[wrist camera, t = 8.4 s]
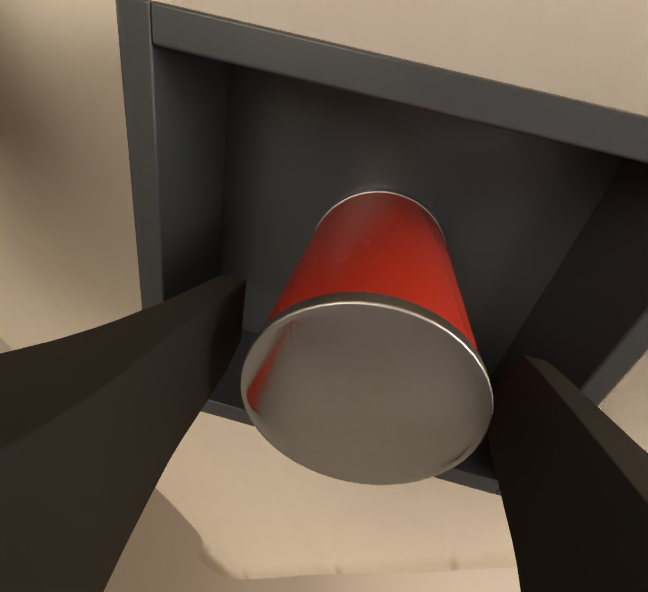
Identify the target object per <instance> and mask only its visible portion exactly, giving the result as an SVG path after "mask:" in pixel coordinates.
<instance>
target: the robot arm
mask: <svg viewBox="0 0 648 592" xmlns="http://www.w3.org/2000/svg"><path fill="white" fill-rule="evenodd" d="M246 281H247V280H243V279H240V278H236V277H232V276H228V275H225V274H224V275H221V276H219V277H217V278H214V279H212V280H210V281H208V282H205V283H203V284H201V285H199V286H197V287H195V288H192V289H190V290H188V291H186V292H184V293H181V294H179V295H177V296H175V297H172V298H170V299H168V300H166V301H164V302H161V303H159V304H157V305H154V306H152V307H149V308H146V309H144V310H141V311H139V312H136V313H134V314H131V315H129V316H126V317H124V318H121V319H119V320H116V321H113V322H111V323H108V324H105V325H102V326H99V327H96V328H93V329H90V330H87V331H83V332H80V333H77V334H74V335H70V336H67V337H64V338H60V339H57V340H53V341H50V342H46V343H42V344H38V345H34V346H30V347H26V348H22V349H18V350H13V351H9V352H5V353H1V354H0V592H103V591H104V589H105V587H106V585H107V583H108V581H109V579H110V576H111V574H112V572H113V570H114V568H115V566H116V564H117V562H118V560H119V558H120V556H121V554H122V551H123V549H124V548H125V545H126V543H127V541H128V539H129V537H130V535H131V533H132V531H133V529H134V528H135V526H136V523H137V521H138V520H139V518H140V515H141V514H142V512H143V509H144V508H145V506H146V504H147V502H148V500H149V498H150V496H151V494H152V492H153V490H154V488H155V486H156V485H157V483H158V481H159V479H160V477H161V475H162V473H163V471H164V469H165V467H166V465H167V464H168V462H169V460H170V458H171V456H172V455H173V453H174V451H175V450H176V448H177V446H178V445H179V443H180V442H181V440H182V438H183V437H184V435H185V434H186V432H187V431H188V429H189V428H190V426H191V425H192V423H193V422H194V420H195V419H196V417H197V416H198V414H199V413H200V411H201V409H202V408H203V406H204V405H205V403H206V402H207V400H208V399H209V397H210V396H211V394H212V393H213V391H214V390H215V388H216V386H217V385H218V383H219V382H220V380H221V379H222V377H223V375H224V374H225V372H226V370H227V368H228V366H229V364H230V362H231V360H232V358H233V356H234V354H235V352H236V350H237V348H238V345H239V343H240V341H241V333H242V322H243V312H244V302H245V291H246ZM493 406H494V407H493V414H492V420H491V423H490V425H489V428H488V436H489V444H490V450H491V454H492V459H493V463H494V467H495V472H496V476H497V480H498V484H499V488H500V492H501V497H502V501H503V505H504V509H505V513H506V517H507V521H508V525H509V529H510V533H511V538H512V542H513V547H514V552H515V557H516V562H517V568H518V575H519V582H520V589H521V592H648V453H647V452H646V451H645V450H643V449H642V448H641V447H640V446H639V445H638V444H637V443H636V442H635V441H634V440H632V439H631V438H630V437H629V436H628V435H627V434H626V433H625V432H624V431H623V430H622V429H621V428H619V427H618V426H617V425H616V424H615V423H614V422H613V421H612V420H611V419H610V418H609V417H608V416H607V415H606V414H605V413H604V412H602V411H601V410H600V409H599V408H598V407H597V406H596V405H595V404H594V403H593V402H592V401H591V400H590V399H589V398H588V397H587V396H586V395H585V394H583V393H582V392H581V391H580V390H579V389H578V388H577V387H576V386H575V385H574V384H573V383H572V382H571V381H570V380H568V379H567V378H566V377H565V376H564V375H563V374H562V373H561V372H560V371H558V370H557V369H556V368H555V367H554V366H552V365H551V364H550V363H548V362H547V361H545V360H541V359H538V358H534V357H530V356H527V355H523V354H522V355H521V356H520V358H519V359H518V361H517V362H516V364H515V366H514V367H513V369H512V370H511V372H510V373H509V375H508V376H507V378H506V379H505V381H504V382H503V384H502V385H501V387H500V388H499V390H498V392H497V393H496V395H495V396H494V398H493Z"/></svg>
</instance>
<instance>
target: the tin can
mask: <svg viewBox="0 0 648 592" xmlns="http://www.w3.org/2000/svg"><path fill="white" fill-rule="evenodd" d="M240 389H241V395H242V400H243V403H244V406H245V409H246V411H247V413H248V415H249V417H250V419H251V421H252V422H253V424H254V425H255V427H256V428H257V430H258V431H259V432H260V433H261V434H262V435H263V437H264V438H265V439H266V440H267V441H268V442H269V443H270V444H271V445H272V446H273V447H275V448H276V449H277V450H278V451H280V452H281V453H282V454H284V455H285V456H287V457H288V458H290V459H291V460H293V461H294V462H296V463H298V464H300V465H302V466H304V467H306V468H308V469H310V470H312V471H315V472H317V473H320V474H323V475H326V476H329V477H332V478H335V479H339V480H343V481H348V482H354V483H360V484H372V485H393V484H404V483H410V482H416V481H420V480H423V479H427V478H430V477H433V476H436V475H439V474H441V473H443V472H445V471H447V470H449V469H451V468H453V467H455V466H456V465H458V464H459V463H461V462H462V461H464V460H465V459H466V458H467V457H468V456H469V455H470V454H472V453H473V452H474V451H475V449H476V448H477V447H478V446H479V444H480V443H481V442H482V440H483V438H484V437H485V435H486V433H487V431H488V428H489V425H490V423H491V420H492V414H493V407H494V406H493V392H492V388H491V384H490V380H489V377H488V374H487V370H486V368H485V366H484V363H483V361H482V359H481V357H480V355H479V353H478V350H477V347H476V343H475V340H474V337H473V333H472V330H471V327H470V323H469V320H468V317H467V313H466V310H465V307H464V303H463V300H462V297H461V293H460V290H459V287H458V283H457V280H456V277H455V273H454V270H453V267H452V263H451V260H450V257H449V253H448V250H447V243H446V239H445V235H444V232H443V229H442V227H441V225H440V223H439V221H438V219H437V218H436V216H435V215H434V214H433V213H432V211H431V210H430V209H429V208H428V207H427V206H426V205H425V204H423V203H422V202H421V201H419V200H418V199H416V198H415V197H413V196H410V195H408V194H406V193H403V192H400V191H397V190H392V189H384V188H374V189H366V190H361V191H357V192H355V193H352V194H349V195H347V196H345V197H343V198H342V199H340V200H339V201H337V202H336V203H334V204H333V205H332V206H331V207H330V208H329V209H328V210H327V211H326V212H325V214H324V215H323V216H322V217H321V219H320V221H319V222H318V224H317V226H316V228H315V231H314V233H313V236H312V238H311V240H310V242H309V243H308V245H307V247H306V249H305V251H304V253H303V255H302V256H301V258H300V260H299V262H298V264H297V266H296V267H295V269H294V271H293V273H292V275H291V277H290V278H289V280H288V282H287V284H286V286H285V288H284V290H283V291H282V293H281V295H280V297H279V299H278V301H277V302H276V304H275V306H274V308H273V310H272V312H271V314H270V315H269V317H268V319H267V321H266V323H265V325H264V326H263V328H262V329H261V330H260V331H259V332H258V334H257V335H256V337H255V339H254V340H253V342H252V344H251V345H250V347H249V349H248V351H247V353H246V356H245V358H244V361H243V363H242V368H241V374H240Z"/></svg>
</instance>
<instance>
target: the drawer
mask: <svg viewBox="0 0 648 592" xmlns="http://www.w3.org/2000/svg"><path fill="white" fill-rule="evenodd" d="M116 11H117V23H118V34H119V46H120V58H121V69H122V81H123V92H124V104H125V115H126V127H127V139H128V150H129V162H130V173H131V185H132V196H133V208H134V219H135V231H136V243H137V254H138V266H139V277H140V289H141V300H142V310H144V309H146V308H149V307H152V306H154V305H157V304H159V303H161V302H164V301H166V300H168V299H170V298H172V297H175V296H177V295H179V294H181V293H184V292H186V291H188V290H190V289H192V288H195V287H197V286H199V285H201V284H203V283H205V282H208V281H210V280H212V279H214V278H217V277H219V276H221V275H224V274H225V275H228V276H232V277H236V278H240V279H243V280H247V281H246V291H245V302H244V312H243V322H242V333H241V341H240V343H239V345H238V348H237V350H236V352H235V354H234V356H233V358H232V360H231V362H230V364H229V366H228V368H227V370H226V372H225V374H224V375H223V377H222V379H221V380H220V382H219V383H218V385H217V386H216V388H215V390H214V391H213V393H212V394H211V396H210V397H209V399H208V400H207V402H206V403H205V405H204V406H203V408H202V409H201V411H202V412H206V413H209V414H213V415H216V416H220V417H223V418H227V419H230V420H234V421H237V422H241V423H245V424H248V425H252V426H255V425H254V424H253V422H252V421H251V419H250V417H249V415H248V413H247V411H246V409H245V406H244V403H243V400H242V395H241V389H240V374H241V368H242V363H243V361H244V358H245V356H246V353H247V351H248V349H249V347H250V345H251V344H252V342H253V340H254V339H255V337H256V335H257V334H258V332H259V331H260V330H261V329H262V328H263V326H264V325H265V323H266V321H267V319H268V317H269V315H270V314H271V312H272V310H273V308H274V306H275V304H276V302H277V301H278V299H279V297H280V295H281V293H282V291H283V290H284V288H285V286H286V284H287V282H288V280H289V278H290V277H291V275H292V273H293V271H294V269H295V267H296V266H297V264H298V262H299V260H300V258H301V256H302V255H303V253H304V251H305V249H306V247H307V245H308V243H309V242H310V240H311V238H312V236H313V233H314V231H315V228H316V226H317V224H318V222H319V221H320V219H321V217H322V216H323V215H324V214H325V212H326V211H327V210H328V209H329V208H330V207H331V206H332V205H333V204H334V203H336V202H337V201H339V200H340V199H342V198H343V197H345V196H347V195H349V194H352V193H355V192H357V191H361V190H366V189H374V188H384V189H392V190H397V191H400V192H403V193H406V194H408V195H410V196H413V197H415V198H416V199H418V200H419V201H421V202H422V203H423V204H425V205H426V206H427V207H428V208H429V209H430V210H431V211H432V213H433V214H434V215H435V216H436V218H437V219H438V221H439V223H440V225H441V227H442V229H443V232H444V235H445V239H446V243H447V250H448V253H449V257H450V260H451V263H452V267H453V270H454V273H455V277H456V280H457V283H458V287H459V290H460V293H461V297H462V300H463V303H464V307H465V310H466V313H467V317H468V320H469V323H470V327H471V330H472V333H473V337H474V340H475V343H476V347H477V350H478V353H479V355H480V357H481V359H482V361H483V363H484V366H485V368H486V370H487V374H488V377H489V380H490V384H491V388H492V392H493V398H494V396H495V395H496V393H497V392H498V390H499V388H500V387H501V385H502V384H503V382H504V381H505V379H506V378H507V376H508V375H509V373H510V372H511V370H512V369H513V367H514V366H515V364H516V362H517V361H518V359H519V358H520V356H521V355H522V354H523V355H527V356H530V357H534V358H538V359H541V360H545V361H547V362H548V363H550V364H551V365H552V366H554V367H555V368H556V369H557V370H558V371H560V372H561V373H562V374H563V375H564V376H565V377H566V378H567V379H568V380H570V381H571V382H572V383H573V384H574V385H575V386H576V387H577V388H578V389H579V390H580V391H581V392H582V393H583V394H585V395H586V396H587V397H588V398H589V399H590V400H591V401H592V402H593V403H594V404H595V405H596V406H597V407H598V406H599V404H600V403H601V402H602V401H603V400H604V399H605V398H606V397H607V395H608V394H609V393H610V392H611V391H612V390H613V389H614V388H615V387H616V385H617V384H618V383H619V382H620V381H621V380H622V379H623V378H624V376H625V375H626V374H627V373H628V372H629V371H630V370H631V369H632V368H633V366H634V365H635V364H636V363H637V362H638V361H639V360H640V359H641V357H642V356H643V355H644V354H645V353H646V352H647V351H648V116H645V115H641V114H636V113H632V112H628V111H624V110H619V109H615V108H611V107H606V106H602V105H598V104H594V103H589V102H585V101H581V100H577V99H572V98H568V97H564V96H559V95H555V94H551V93H547V92H542V91H538V90H534V89H529V88H525V87H521V86H517V85H512V84H508V83H504V82H500V81H495V80H491V79H487V78H482V77H478V76H474V75H470V74H465V73H461V72H457V71H453V70H448V69H444V68H440V67H435V66H431V65H427V64H423V63H418V62H414V61H410V60H406V59H401V58H397V57H393V56H388V55H384V54H380V53H376V52H371V51H367V50H363V49H358V48H354V47H350V46H346V45H341V44H337V43H333V42H329V41H324V40H320V39H316V38H311V37H307V36H303V35H299V34H294V33H290V32H286V31H282V30H277V29H273V28H269V27H264V26H260V25H256V24H252V23H247V22H243V21H239V20H234V19H230V18H226V17H222V16H217V15H213V14H209V13H205V12H200V11H196V10H192V9H187V8H183V7H179V6H175V5H170V4H166V3H162V2H158V1H152V0H116ZM433 477H436V478H439V479H443V480H446V481H450V482H453V483H457V484H460V485H464V486H468V487H471V488H475V489H478V490H482V491H485V492H489V493H492V494H494V493H495V494H497V495H501V492H500V488H499V484H498V480H497V476H496V472H495V467H494V463H493V459H492V454H491V450H490V444H489V436H488V431H487V433H486V435H485V437H484V438H483V440H482V442H481V443H480V444H479V446H478V447H477V448H476V449H475V451H474V452H473V453H472V454H470V455H469V456H468V457H467V458H466V459H465V460H464V461H462V462H461V463H459V464H458V465H456V466H455V467H453V468H451V469H449V470H447V471H445V472H443V473H441V474H439V475H436V476H433Z"/></svg>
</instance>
